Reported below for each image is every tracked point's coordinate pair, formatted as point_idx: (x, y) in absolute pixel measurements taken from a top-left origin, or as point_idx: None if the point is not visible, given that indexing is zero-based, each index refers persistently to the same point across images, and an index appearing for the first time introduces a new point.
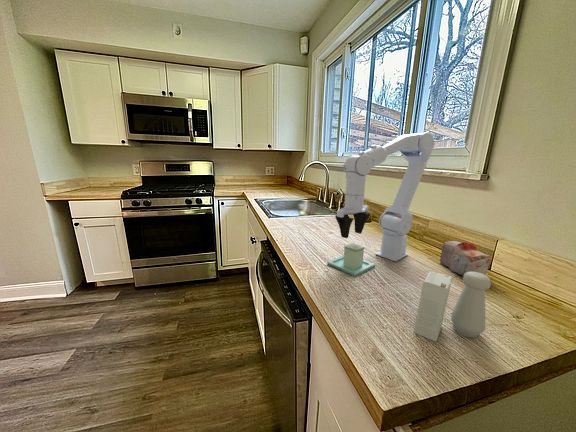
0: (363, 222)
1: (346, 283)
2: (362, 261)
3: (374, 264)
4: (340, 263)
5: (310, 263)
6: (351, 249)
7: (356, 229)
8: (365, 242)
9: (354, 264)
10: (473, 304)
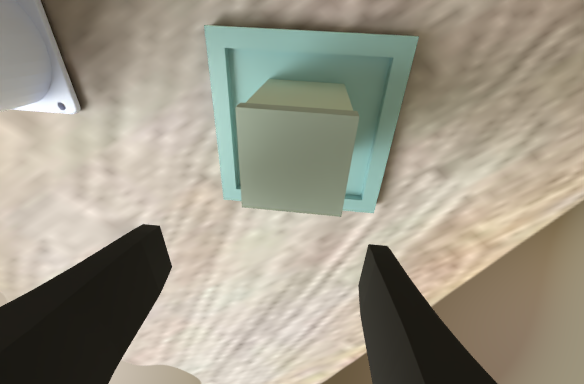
0: (36, 327)
1: (522, 22)
2: (265, 84)
3: (207, 25)
4: None
5: (409, 250)
6: (350, 156)
7: (153, 283)
8: (29, 215)
9: (346, 92)
10: None
